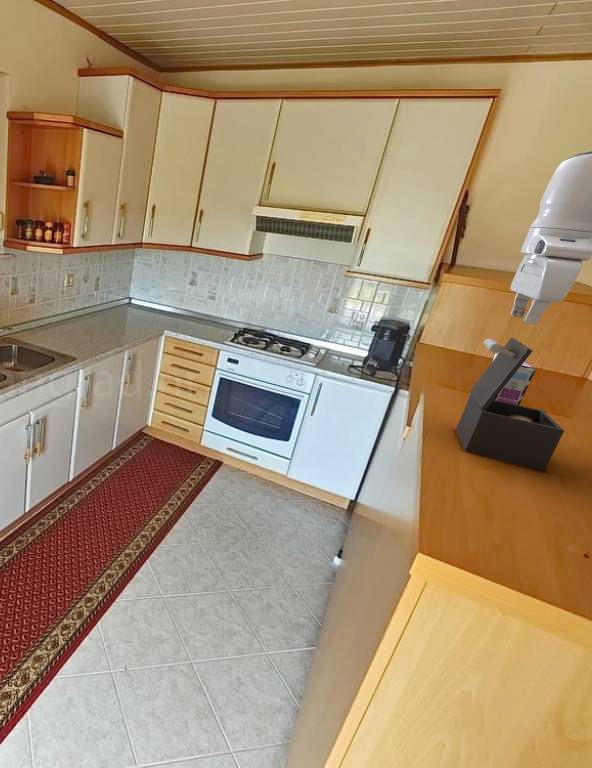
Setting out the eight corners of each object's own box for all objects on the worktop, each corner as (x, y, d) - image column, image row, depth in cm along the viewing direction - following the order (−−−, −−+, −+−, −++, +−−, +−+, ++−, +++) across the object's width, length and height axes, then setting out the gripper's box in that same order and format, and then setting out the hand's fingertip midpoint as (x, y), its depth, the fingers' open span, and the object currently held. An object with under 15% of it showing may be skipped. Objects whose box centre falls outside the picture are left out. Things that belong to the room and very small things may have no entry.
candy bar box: (506, 437, 109) (538, 368, 103) (479, 431, 111) (509, 363, 105) (491, 421, 118) (520, 357, 113) (467, 415, 120) (493, 352, 115)
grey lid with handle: (515, 338, 101) (488, 328, 102) (533, 350, 90) (502, 338, 92) (473, 393, 106) (448, 382, 108) (485, 410, 96) (457, 398, 97)
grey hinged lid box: (525, 448, 104) (543, 410, 101) (544, 471, 94) (564, 430, 91) (455, 430, 110) (470, 394, 107) (465, 451, 99) (482, 411, 96)
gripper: (517, 243, 100) (491, 310, 105) (549, 245, 83) (515, 324, 88) (557, 248, 97) (528, 316, 102) (598, 250, 80) (560, 331, 85)
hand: (522, 320), depth 95 cm, fingers open, 8 cm apart
